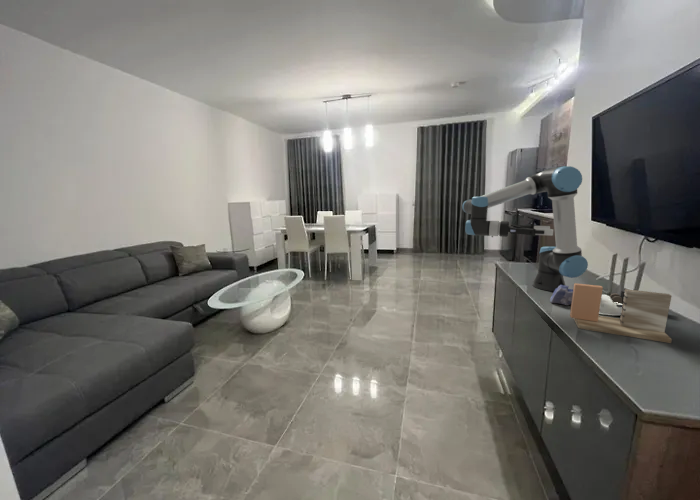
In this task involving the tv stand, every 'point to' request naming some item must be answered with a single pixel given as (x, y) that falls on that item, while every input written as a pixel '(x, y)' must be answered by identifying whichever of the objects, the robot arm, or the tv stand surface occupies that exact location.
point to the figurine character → (617, 297)
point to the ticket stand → (636, 317)
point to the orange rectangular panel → (586, 302)
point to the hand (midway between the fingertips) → (551, 230)
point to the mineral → (562, 295)
